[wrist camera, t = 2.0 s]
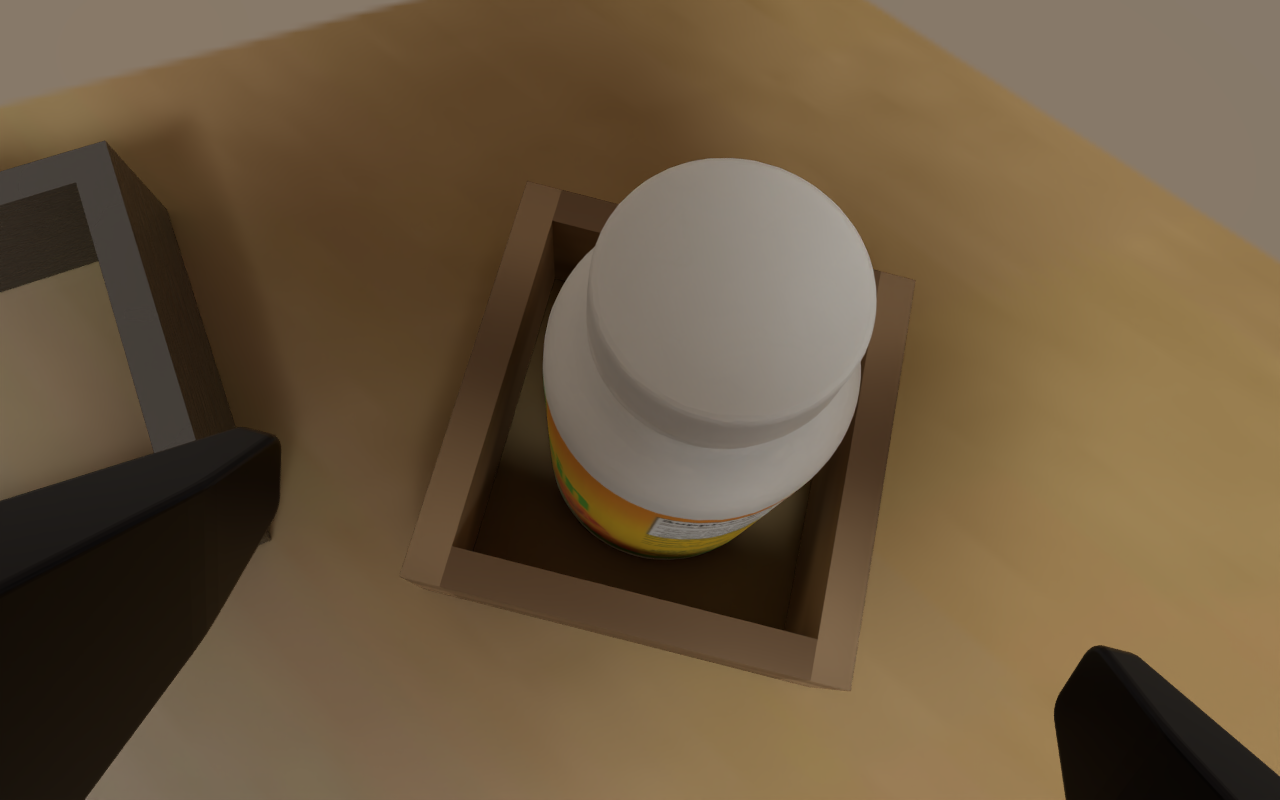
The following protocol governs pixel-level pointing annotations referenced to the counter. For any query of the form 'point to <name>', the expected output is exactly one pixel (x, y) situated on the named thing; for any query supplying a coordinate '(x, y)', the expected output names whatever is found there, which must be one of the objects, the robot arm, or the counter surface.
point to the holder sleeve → (445, 563)
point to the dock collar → (119, 279)
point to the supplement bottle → (705, 355)
